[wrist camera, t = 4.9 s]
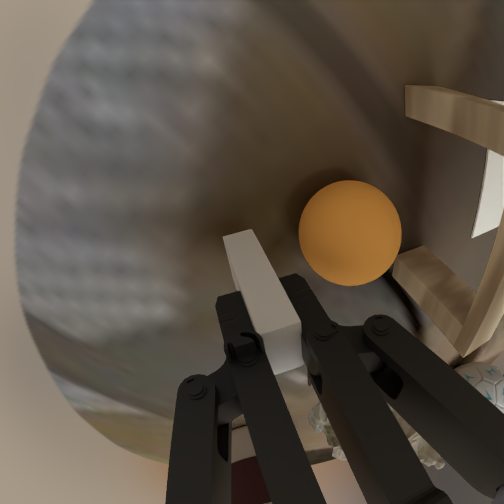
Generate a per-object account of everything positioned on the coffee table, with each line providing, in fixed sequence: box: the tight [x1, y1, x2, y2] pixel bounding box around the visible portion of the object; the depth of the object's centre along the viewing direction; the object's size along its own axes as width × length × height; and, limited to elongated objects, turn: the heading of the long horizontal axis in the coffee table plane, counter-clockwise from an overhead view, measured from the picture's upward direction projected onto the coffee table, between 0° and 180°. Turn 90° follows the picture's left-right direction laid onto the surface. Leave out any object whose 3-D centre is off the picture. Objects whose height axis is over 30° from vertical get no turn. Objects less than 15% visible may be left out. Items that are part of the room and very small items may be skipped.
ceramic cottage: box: [309, 402, 444, 469], centre depth 31 cm, size 16×16×15 cm
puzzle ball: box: [454, 362, 504, 413], centre depth 38 cm, size 15×15×15 cm
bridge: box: [392, 85, 504, 358], centre depth 15 cm, size 3×14×9 cm, turn 9°
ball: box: [299, 180, 402, 286], centre depth 16 cm, size 6×6×6 cm
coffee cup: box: [231, 426, 272, 504], centre depth 26 cm, size 10×10×15 cm
